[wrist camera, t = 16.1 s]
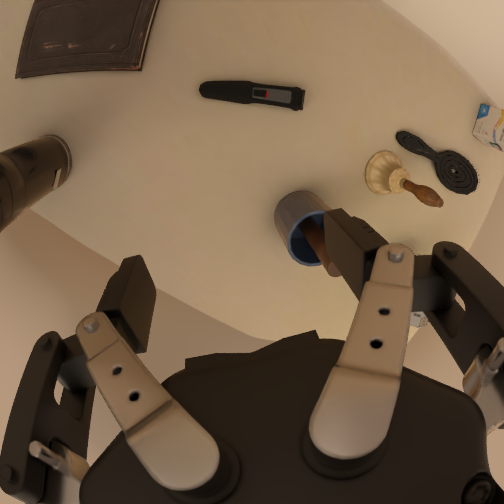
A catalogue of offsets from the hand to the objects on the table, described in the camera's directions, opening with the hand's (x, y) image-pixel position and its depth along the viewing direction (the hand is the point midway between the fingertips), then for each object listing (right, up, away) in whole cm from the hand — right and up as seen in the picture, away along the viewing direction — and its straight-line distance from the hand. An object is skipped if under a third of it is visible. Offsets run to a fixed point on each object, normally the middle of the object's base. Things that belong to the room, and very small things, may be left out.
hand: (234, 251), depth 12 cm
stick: (+9, +6, +36) cm, 37 cm away
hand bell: (+24, +14, +34) cm, 45 cm away
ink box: (+52, +29, +31) cm, 67 cm away
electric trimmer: (+1, +23, +26) cm, 35 cm away
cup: (+9, +6, +36) cm, 38 cm away
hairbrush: (+38, +18, +34) cm, 54 cm away
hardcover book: (-25, +35, +15) cm, 45 cm away
